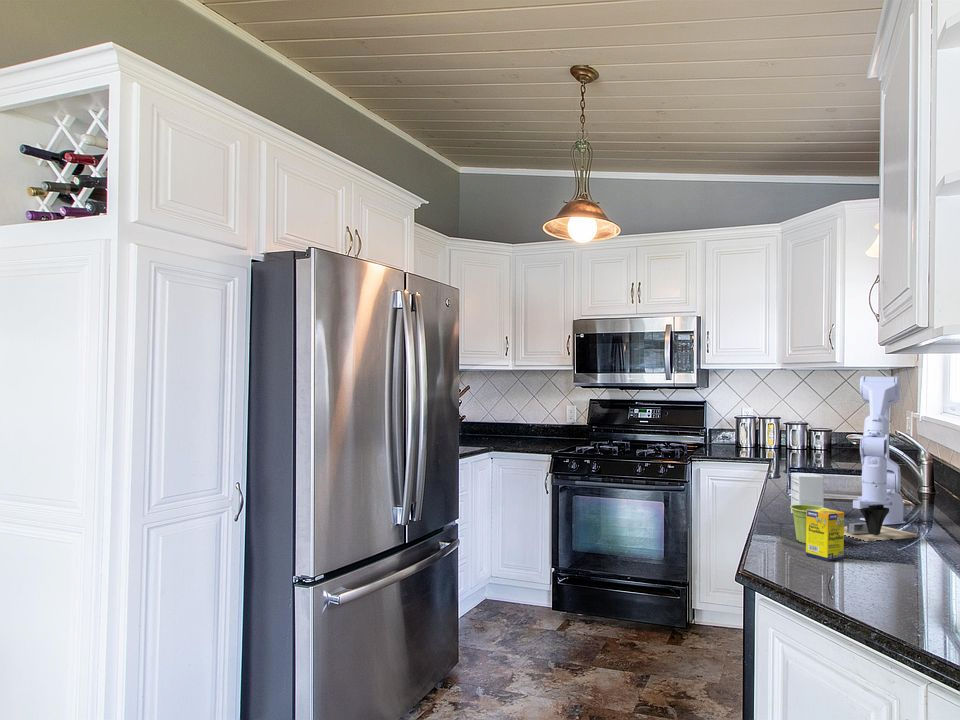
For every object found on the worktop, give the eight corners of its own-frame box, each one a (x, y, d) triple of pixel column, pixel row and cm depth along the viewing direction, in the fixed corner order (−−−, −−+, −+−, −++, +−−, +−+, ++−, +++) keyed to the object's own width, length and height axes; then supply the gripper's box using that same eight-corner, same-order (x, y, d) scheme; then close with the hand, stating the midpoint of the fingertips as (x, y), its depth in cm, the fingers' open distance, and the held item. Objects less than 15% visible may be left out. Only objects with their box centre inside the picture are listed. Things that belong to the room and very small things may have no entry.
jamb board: (874, 527, 199) (874, 514, 199) (917, 537, 187) (917, 524, 187) (826, 531, 193) (826, 518, 193) (868, 541, 181) (868, 528, 181)
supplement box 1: (814, 513, 218) (815, 473, 218) (824, 518, 210) (824, 476, 210) (790, 512, 218) (790, 472, 219) (798, 517, 211) (798, 475, 211)
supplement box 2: (827, 561, 160) (828, 513, 160) (805, 555, 165) (805, 509, 166) (844, 559, 163) (845, 511, 163) (821, 553, 168) (822, 507, 168)
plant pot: (835, 542, 180) (835, 508, 180) (823, 548, 173) (823, 513, 173) (797, 536, 186) (797, 503, 186) (784, 541, 179) (784, 507, 179)
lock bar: (875, 529, 190) (875, 517, 190) (884, 531, 188) (884, 519, 188) (847, 532, 187) (847, 519, 187) (856, 534, 184) (856, 521, 184)
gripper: (877, 478, 191) (876, 528, 190) (842, 481, 184) (841, 533, 184) (902, 482, 184) (902, 534, 184) (867, 485, 178) (867, 539, 177)
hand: (874, 534), depth 183 cm, fingers closed
